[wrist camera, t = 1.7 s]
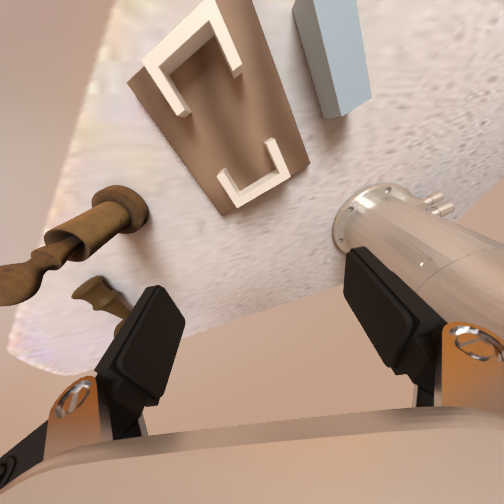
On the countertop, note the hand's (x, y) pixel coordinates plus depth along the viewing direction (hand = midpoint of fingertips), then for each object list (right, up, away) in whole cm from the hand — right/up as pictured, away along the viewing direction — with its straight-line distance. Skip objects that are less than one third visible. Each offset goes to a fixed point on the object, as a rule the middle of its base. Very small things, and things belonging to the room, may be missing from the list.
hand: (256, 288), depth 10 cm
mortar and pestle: (-19, +9, +18) cm, 28 cm away
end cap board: (-3, +17, +13) cm, 22 cm away
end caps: (-3, +16, +12) cm, 21 cm away
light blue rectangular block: (+7, +23, +10) cm, 26 cm away
